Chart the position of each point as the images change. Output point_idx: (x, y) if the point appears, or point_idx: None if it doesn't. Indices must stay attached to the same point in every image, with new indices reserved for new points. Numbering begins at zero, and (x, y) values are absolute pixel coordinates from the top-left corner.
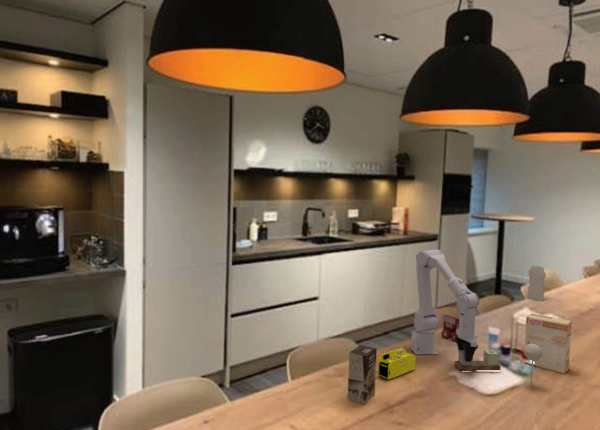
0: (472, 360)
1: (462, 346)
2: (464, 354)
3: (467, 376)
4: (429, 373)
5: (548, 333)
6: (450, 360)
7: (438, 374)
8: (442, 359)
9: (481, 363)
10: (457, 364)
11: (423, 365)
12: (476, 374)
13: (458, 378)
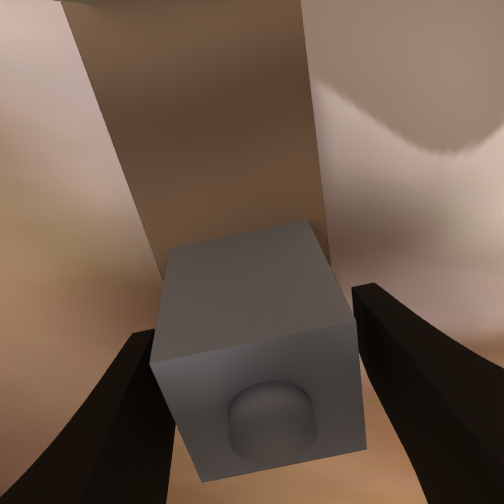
0: (324, 258)
1: (139, 499)
2: (360, 425)
3: (418, 255)
4: (365, 475)
5: None
6: (26, 346)
7: (379, 435)
8: (34, 401)
9: (208, 70)
10: None
11: (227, 500)
12: (366, 157)
13: (456, 328)
